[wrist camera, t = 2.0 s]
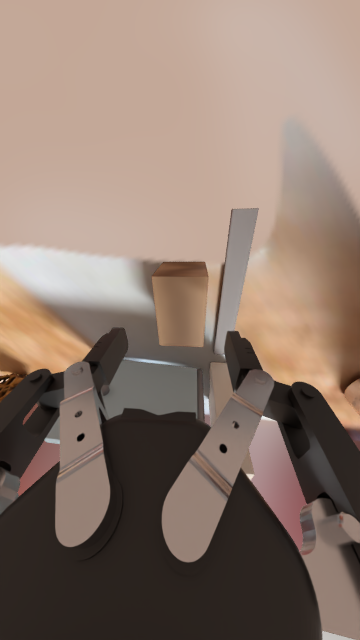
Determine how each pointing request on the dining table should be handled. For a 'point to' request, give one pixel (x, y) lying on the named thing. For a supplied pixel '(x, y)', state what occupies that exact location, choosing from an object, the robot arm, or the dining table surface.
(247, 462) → the door frame
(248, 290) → the dining table surface
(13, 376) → the brown wasp nest
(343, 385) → the dining table surface
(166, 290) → the block
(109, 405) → the door
